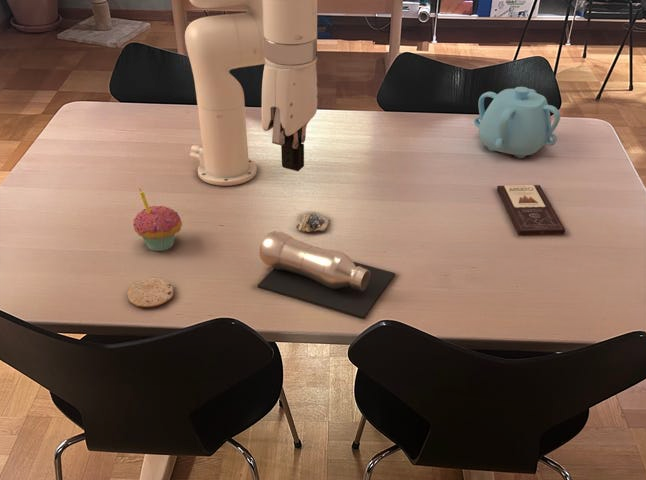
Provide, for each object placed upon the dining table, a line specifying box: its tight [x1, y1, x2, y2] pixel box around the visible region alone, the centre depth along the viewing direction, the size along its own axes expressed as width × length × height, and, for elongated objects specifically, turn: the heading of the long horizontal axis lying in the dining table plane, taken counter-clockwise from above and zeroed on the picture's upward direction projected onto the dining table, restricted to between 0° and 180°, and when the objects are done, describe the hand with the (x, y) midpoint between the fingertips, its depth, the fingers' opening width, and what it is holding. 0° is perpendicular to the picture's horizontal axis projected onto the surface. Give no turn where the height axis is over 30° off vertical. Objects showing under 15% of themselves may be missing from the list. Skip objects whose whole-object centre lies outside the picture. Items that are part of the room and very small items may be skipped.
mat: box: [257, 261, 396, 320], centre depth 126 cm, size 20×14×1 cm
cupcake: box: [132, 187, 183, 252], centre depth 130 cm, size 9×8×12 cm
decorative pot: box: [473, 86, 561, 159], centre depth 163 cm, size 16×16×14 cm
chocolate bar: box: [496, 184, 566, 236], centre depth 145 cm, size 9×1×18 cm
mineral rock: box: [296, 213, 330, 233], centre depth 140 cm, size 7×8×2 cm
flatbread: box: [127, 277, 174, 308], centre depth 122 cm, size 8×8×1 cm
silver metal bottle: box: [259, 230, 370, 291], centre depth 123 cm, size 6×7×20 cm
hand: (293, 167), depth 115 cm, fingers closed
